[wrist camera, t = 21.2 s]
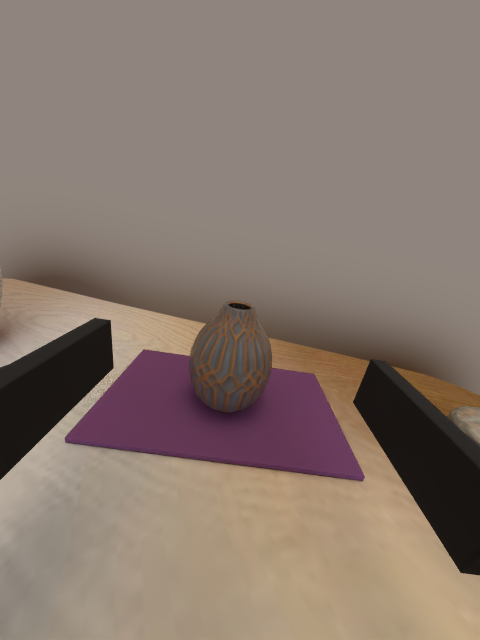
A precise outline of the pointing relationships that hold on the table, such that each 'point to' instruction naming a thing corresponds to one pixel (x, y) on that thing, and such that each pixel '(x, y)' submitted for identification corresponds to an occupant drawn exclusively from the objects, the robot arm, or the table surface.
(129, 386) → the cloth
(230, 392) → the vase
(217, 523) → the table surface
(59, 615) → the table surface
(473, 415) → the long grey stone
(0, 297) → the citrus juicer
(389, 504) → the table surface
